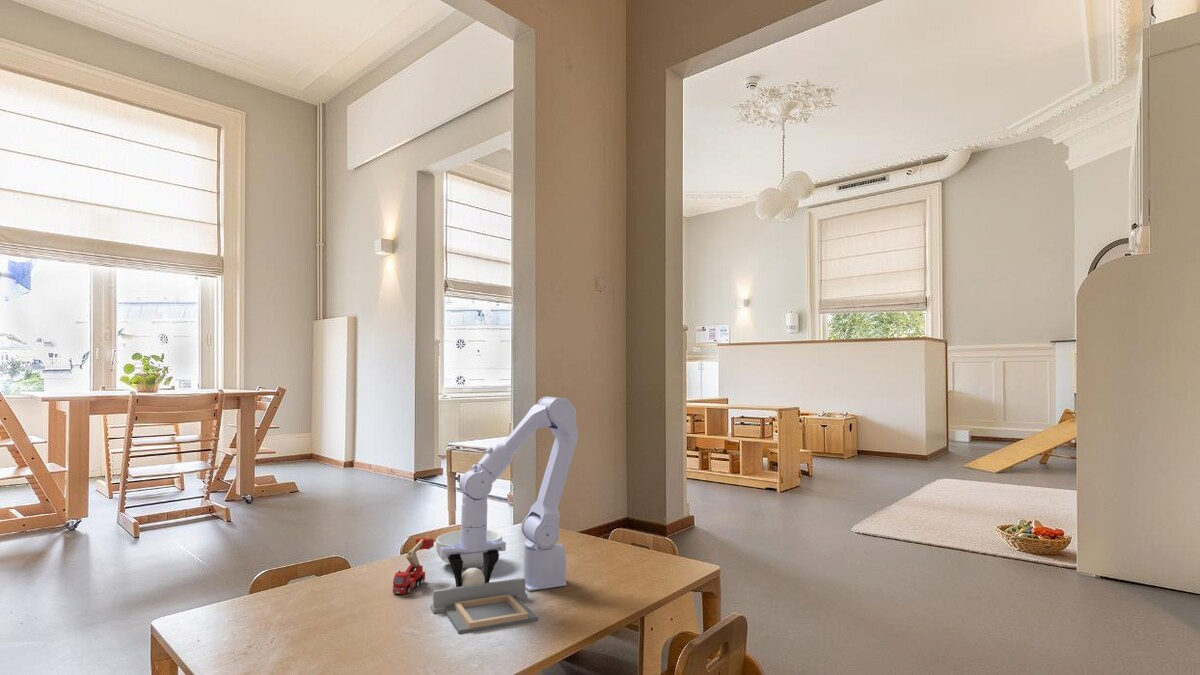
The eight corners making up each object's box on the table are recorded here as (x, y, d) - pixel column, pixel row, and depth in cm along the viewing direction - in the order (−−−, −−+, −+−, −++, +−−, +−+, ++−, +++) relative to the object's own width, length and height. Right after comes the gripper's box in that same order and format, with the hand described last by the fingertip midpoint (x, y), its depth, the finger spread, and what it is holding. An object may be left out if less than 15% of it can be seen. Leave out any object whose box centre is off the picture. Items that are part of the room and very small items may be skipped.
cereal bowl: (471, 551, 173) (471, 525, 173) (514, 562, 163) (515, 535, 163) (421, 565, 159) (422, 537, 159) (465, 579, 149) (466, 549, 150)
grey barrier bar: (522, 594, 139) (523, 576, 139) (527, 598, 136) (527, 580, 137) (430, 608, 130) (431, 588, 130) (433, 613, 127) (434, 593, 128)
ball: (480, 588, 143) (481, 563, 143) (487, 596, 138) (488, 570, 138) (456, 591, 140) (457, 566, 141) (462, 599, 135) (463, 573, 136)
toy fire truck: (390, 595, 137) (392, 550, 138) (420, 575, 151) (421, 535, 151) (404, 596, 137) (406, 551, 137) (433, 576, 150) (434, 536, 151)
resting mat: (517, 600, 135) (518, 592, 136) (537, 620, 125) (537, 611, 125) (444, 611, 128) (444, 603, 128) (458, 633, 118) (458, 625, 118)
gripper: (499, 518, 147) (498, 576, 146) (437, 523, 140) (435, 585, 139) (509, 524, 140) (507, 586, 140) (444, 531, 134) (442, 595, 133)
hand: (472, 586), depth 139 cm, fingers closed on ball, 6 cm apart
